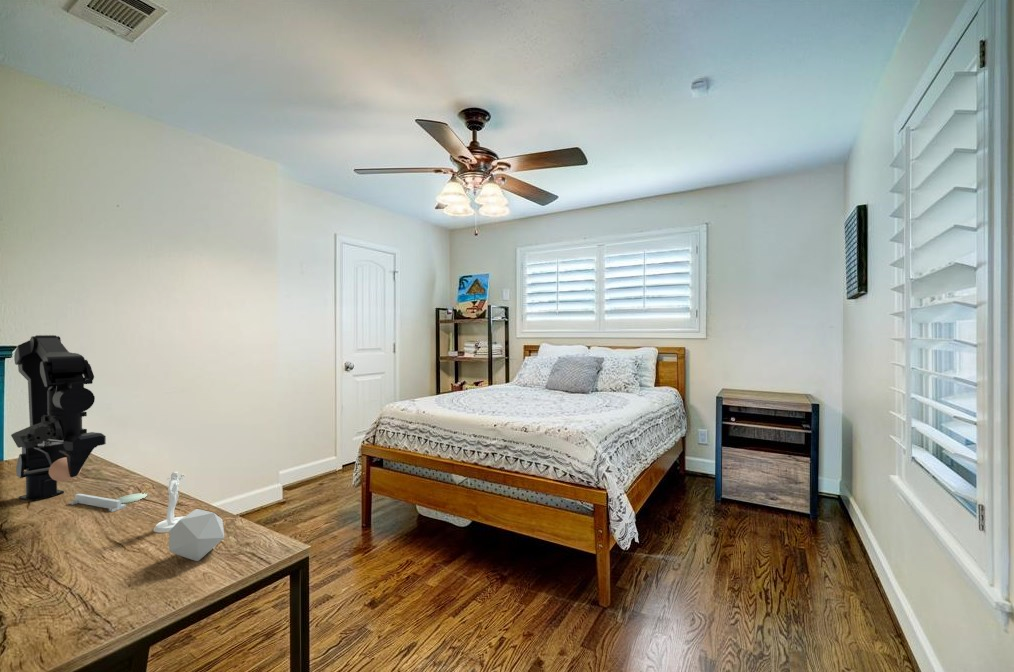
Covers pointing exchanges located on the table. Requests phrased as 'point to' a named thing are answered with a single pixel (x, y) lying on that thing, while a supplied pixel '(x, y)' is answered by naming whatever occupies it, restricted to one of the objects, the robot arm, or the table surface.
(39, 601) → the table surface
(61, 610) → the table surface
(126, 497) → the felt coaster
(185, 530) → the die
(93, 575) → the table surface
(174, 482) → the figurine
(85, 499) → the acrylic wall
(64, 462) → the ball
